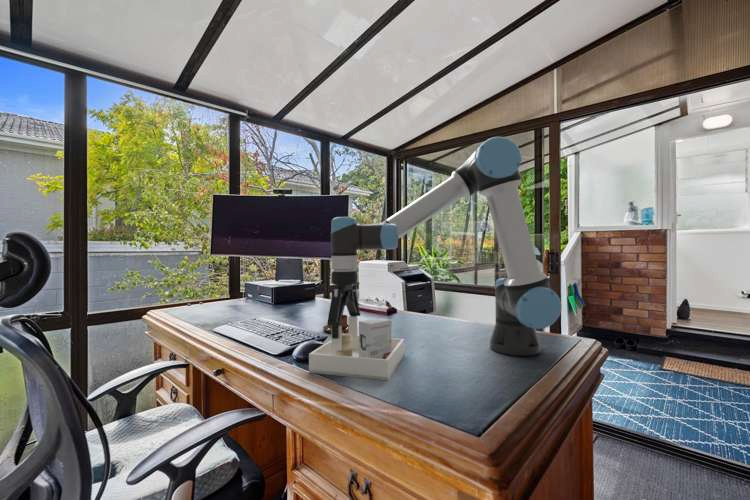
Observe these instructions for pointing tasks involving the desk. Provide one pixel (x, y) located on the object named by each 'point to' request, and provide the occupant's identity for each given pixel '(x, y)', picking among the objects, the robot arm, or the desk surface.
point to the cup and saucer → (342, 324)
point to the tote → (356, 361)
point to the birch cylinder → (345, 345)
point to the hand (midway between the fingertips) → (345, 343)
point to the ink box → (375, 338)
